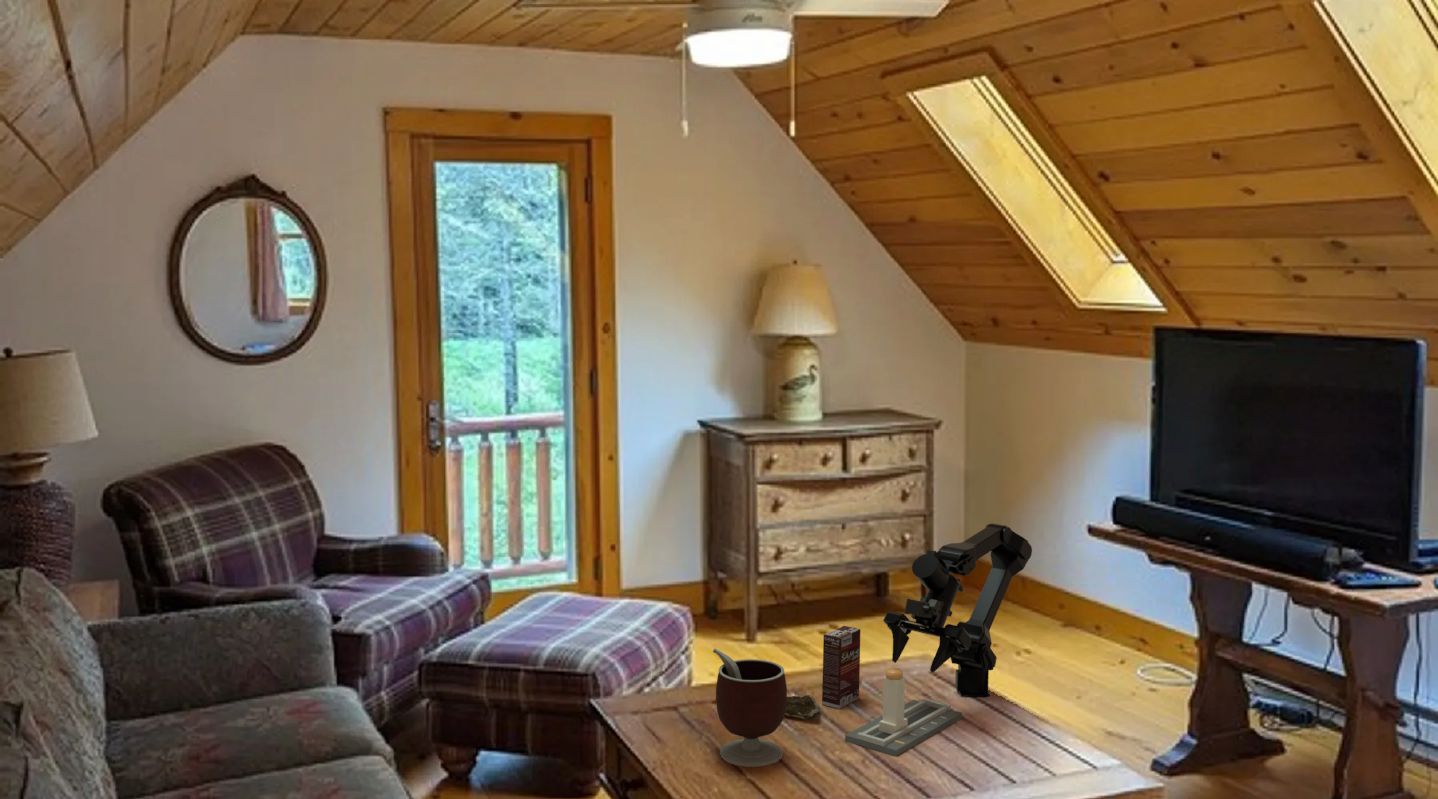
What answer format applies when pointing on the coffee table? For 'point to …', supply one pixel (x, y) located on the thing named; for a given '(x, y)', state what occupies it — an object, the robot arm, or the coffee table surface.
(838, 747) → the coffee table surface
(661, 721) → the coffee table surface
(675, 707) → the coffee table surface
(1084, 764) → the coffee table surface
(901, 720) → the fader knob
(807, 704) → the rock sample
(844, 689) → the supplement box
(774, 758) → the mate gourd
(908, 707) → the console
